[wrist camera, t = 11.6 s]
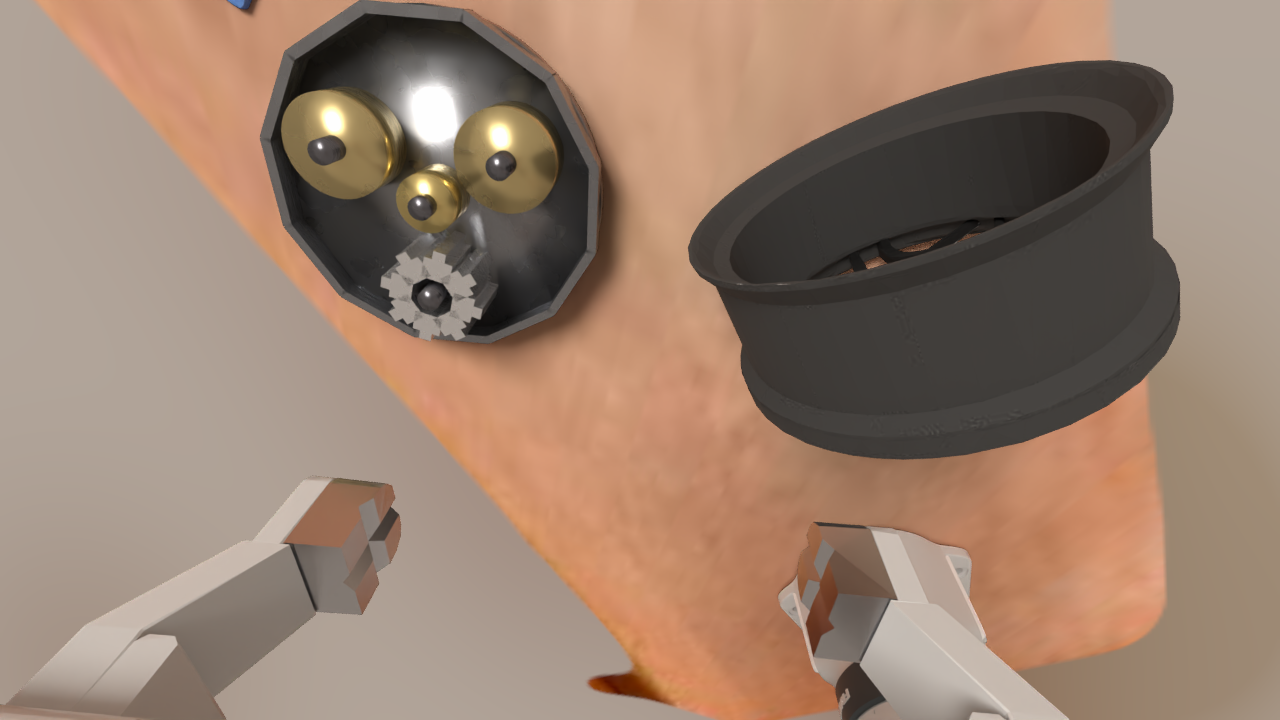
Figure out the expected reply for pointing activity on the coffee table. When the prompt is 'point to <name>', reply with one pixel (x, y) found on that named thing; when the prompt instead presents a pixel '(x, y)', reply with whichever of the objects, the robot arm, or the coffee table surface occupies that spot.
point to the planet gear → (447, 266)
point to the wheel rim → (954, 265)
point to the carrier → (433, 158)
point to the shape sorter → (241, 3)
